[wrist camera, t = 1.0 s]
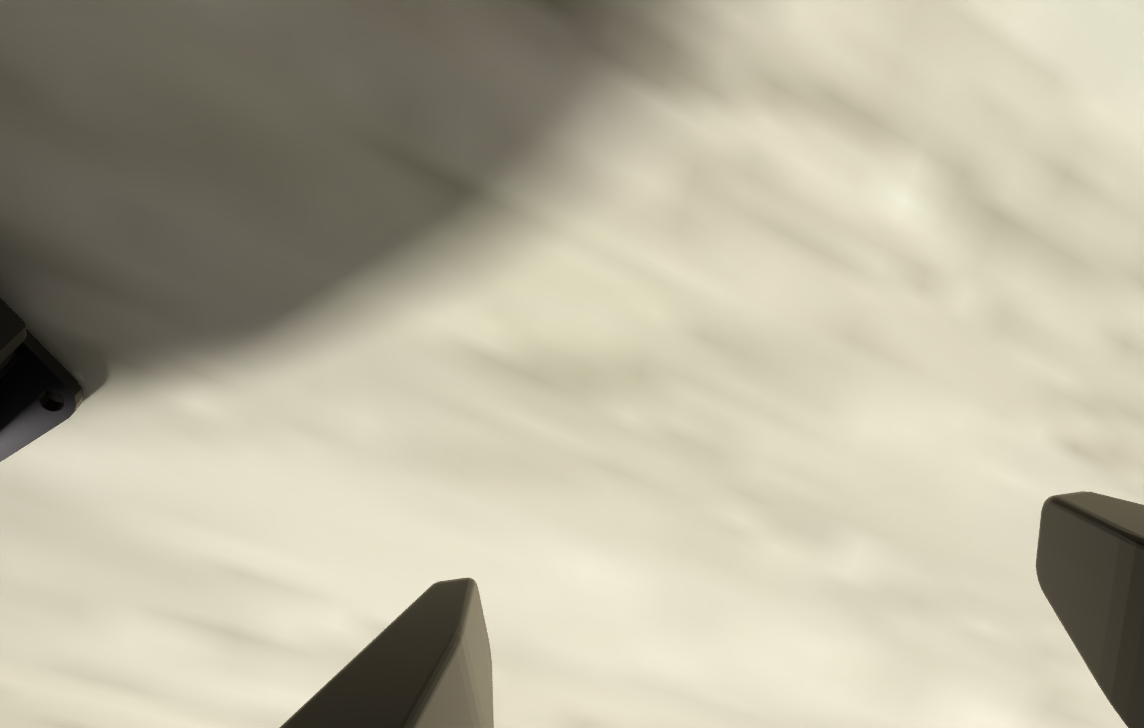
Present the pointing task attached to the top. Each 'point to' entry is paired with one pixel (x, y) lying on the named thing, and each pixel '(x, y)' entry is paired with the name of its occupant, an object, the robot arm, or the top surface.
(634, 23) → the top surface
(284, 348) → the top surface
